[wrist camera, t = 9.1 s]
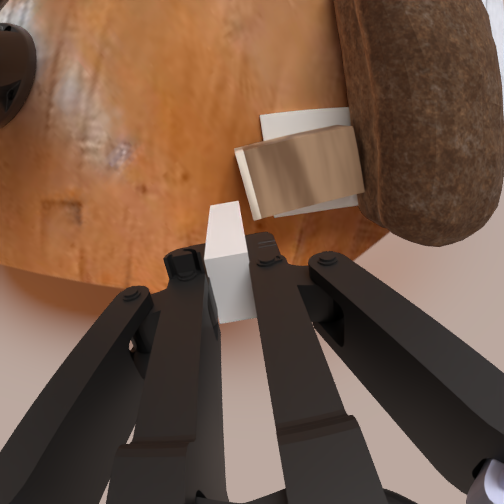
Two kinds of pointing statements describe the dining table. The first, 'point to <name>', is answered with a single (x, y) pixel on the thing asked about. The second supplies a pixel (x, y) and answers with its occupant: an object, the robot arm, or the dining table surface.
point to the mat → (301, 122)
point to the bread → (424, 114)
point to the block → (300, 170)
